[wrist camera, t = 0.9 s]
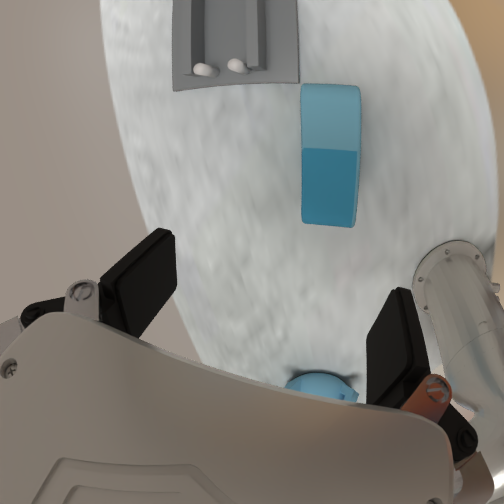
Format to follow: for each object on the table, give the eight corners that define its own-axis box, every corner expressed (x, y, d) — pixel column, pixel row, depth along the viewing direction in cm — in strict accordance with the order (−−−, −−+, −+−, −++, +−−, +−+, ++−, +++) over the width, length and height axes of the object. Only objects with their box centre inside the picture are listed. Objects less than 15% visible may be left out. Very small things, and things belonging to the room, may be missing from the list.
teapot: (347, 407, 53) (342, 447, 44) (284, 400, 57) (273, 439, 48) (361, 370, 45) (358, 418, 36) (285, 363, 50) (271, 409, 41)
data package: (312, 92, 27) (299, 81, 17) (351, 94, 25) (360, 84, 15) (313, 189, 32) (300, 229, 22) (349, 192, 31) (354, 234, 21)
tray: (293, -41, 17) (285, -59, 13) (299, 83, 26) (292, 78, 22) (177, -21, 21) (158, -31, 17) (176, 91, 31) (154, 91, 26)
